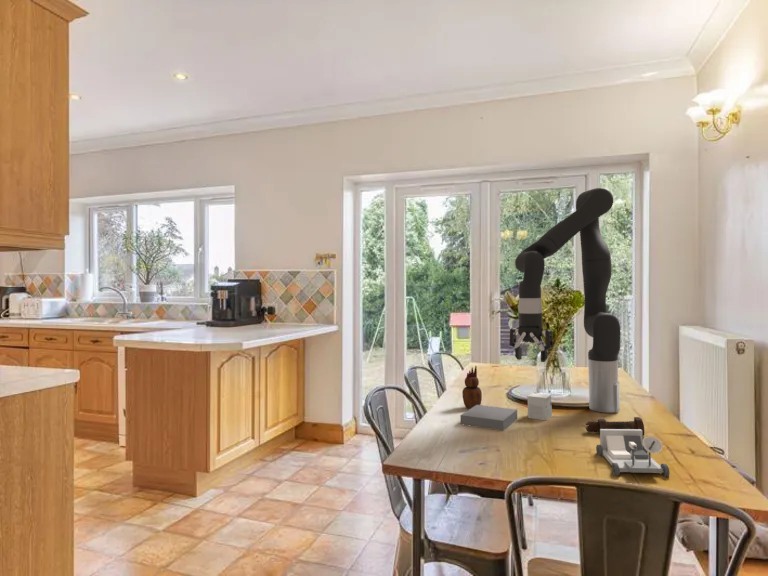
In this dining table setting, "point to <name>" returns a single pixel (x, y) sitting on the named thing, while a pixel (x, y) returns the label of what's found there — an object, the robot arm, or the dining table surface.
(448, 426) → the dining table surface
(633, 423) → the bolt
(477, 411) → the stand
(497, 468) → the dining table surface
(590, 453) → the dining table surface
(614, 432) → the toy go-kart
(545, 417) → the skincare box
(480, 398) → the wooden figurine
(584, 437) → the dining table surface
